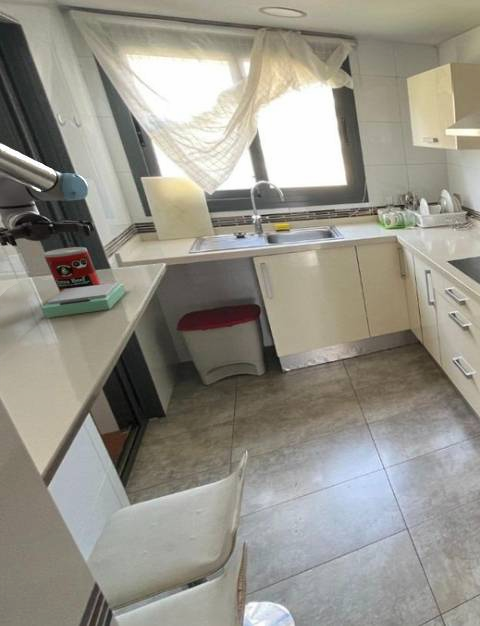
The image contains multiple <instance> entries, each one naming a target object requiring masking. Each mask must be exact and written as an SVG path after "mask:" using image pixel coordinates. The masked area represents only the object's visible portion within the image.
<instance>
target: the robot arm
mask: <svg viewBox="0 0 480 626" xmlns="http://www.w3.org/2000/svg"><path fill="white" fill-rule="evenodd" d="M89 190H90V189H89V185H88V183H87V181H86V180H85V179H84V178H83V177H82V176H81V175H79V174H77V173H69V172H64V173H62V172H59V171H57V170H55V169H53V168H51V167H49V166H46V165H45V164H43V163H41V162H39V161H37V160H35V159H33V158H31V157H29V156H27V155H25V154H23V153H21V152H20V151H17V150H16V149H14V148H12V147H9V146H7V145H6V144H4V143H2V142H0V216H1V223H2V224H3V226H2V227H1V226H0V246H2V247H5V246H9V245H10V246H12V247H17V246H18V244H17V241H16V240H19V239H23V240H24V239H25V240H28V241H31V242H42V241H46V240H48V239H49V238H52V236H53V235H61V234H63V233H79V234H80V235H83V236H85V237H89V236H91V235H90V232H94V231H96V228H95V225H94V222H93V221H90V220H87V221H86V220H84V219H80V220H69V219H65V220H62V221H61V222H58V221H51V220H50V219H48V218H47V217H46V216H43V215H41V214H40V212H39V210H38V207H37V205H36V202H47V201H49V202H53V201H56V202H57V201H58V202H59V201H61V202H62V201H63V202H64V201H69V202H71V201H77V200H78V201H80V200H84V199H85V198H87V197H88V195H89Z"/></svg>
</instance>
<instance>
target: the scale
mask: <svg viewBox="0 0 480 626" xmlns="http://www.w3.org/2000/svg"><path fill="white" fill-rule="evenodd" d="M125 294H126V291H125V288H124V285H123V283H119V282H113V283H104V284H101V285H95V286H87V287H78V288H70V289H64V290H63V291H62V292H60V291H59V293H58V294H56V295H55V296H54V297H52V298H51V299H50V300H48V301H47V303H46V304H45V305H43V306H42V307H41V310H42V313H43V316H44V317H45V319H48V318H55V317H61V316H62V317H63V316H70V315H71V316H72V315H76V314H77V315H78V314H84V313H85V314H86V313H93V312H99V311H106V310H107V311H108V310H111V309H112V308H113V307H114V306H115V304H116V303H118V301H119V300H120V299H121V298H122V297H123V296H124V295H125Z"/></svg>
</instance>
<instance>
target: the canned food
mask: <svg viewBox="0 0 480 626" xmlns="http://www.w3.org/2000/svg"><path fill="white" fill-rule="evenodd" d="M43 257H44V259H45V262H46V265H47V266H48V268H49V271H50V273H51V275H52V277H53V280H54V282H55V284H56V287H57V289H58V291H59V293H60V292H62V291H63V290H64V289H70V288H78V287H87V286H95V285H102V284H101V281H100V279H99V276H98V273H97V271H96V269H95V266H94V263H93V261H92V258H91V255H90V254H89V251H88V249H87V247H84V246H72V247H64V248H58V249H52V250H49V251H46V252H44V253H43Z"/></svg>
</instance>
